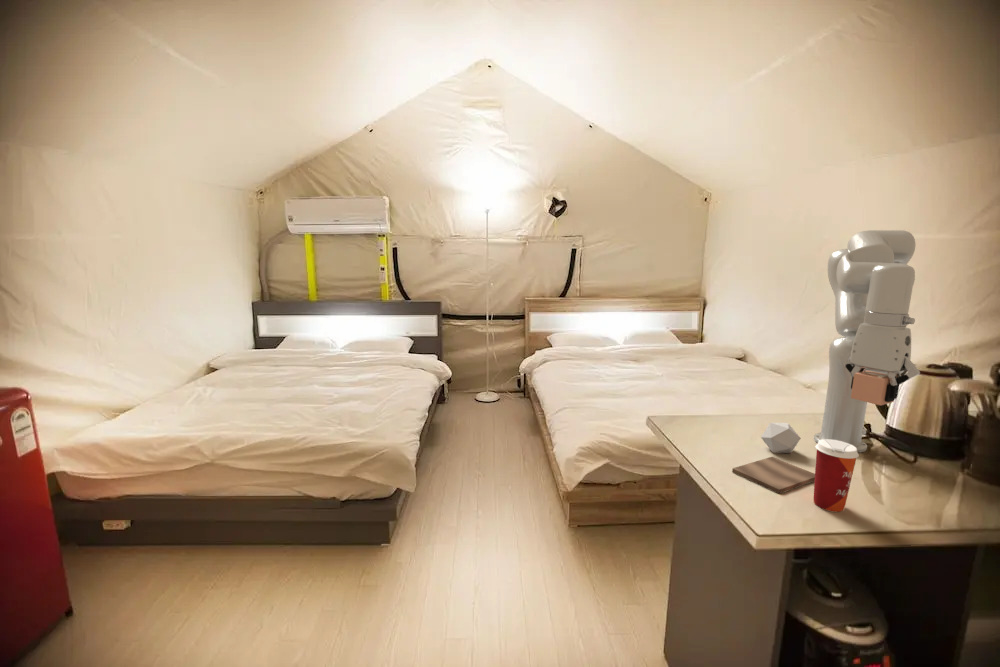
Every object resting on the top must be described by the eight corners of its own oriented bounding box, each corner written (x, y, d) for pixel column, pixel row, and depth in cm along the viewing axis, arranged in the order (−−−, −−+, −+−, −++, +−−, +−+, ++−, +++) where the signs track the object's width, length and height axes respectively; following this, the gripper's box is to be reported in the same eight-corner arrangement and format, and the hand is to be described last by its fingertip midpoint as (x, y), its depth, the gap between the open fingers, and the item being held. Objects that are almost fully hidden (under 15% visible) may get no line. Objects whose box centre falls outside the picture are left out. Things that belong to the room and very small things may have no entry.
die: (786, 447, 138) (766, 418, 139) (812, 443, 130) (791, 412, 132) (770, 462, 134) (749, 432, 136) (795, 459, 127) (774, 427, 128)
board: (771, 460, 127) (771, 456, 127) (818, 479, 117) (819, 475, 117) (732, 472, 120) (732, 468, 120) (778, 493, 109) (779, 489, 109)
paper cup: (851, 518, 100) (861, 455, 97) (807, 507, 104) (816, 446, 101) (848, 502, 106) (857, 442, 104) (807, 492, 110) (815, 435, 108)
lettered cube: (864, 394, 115) (868, 369, 114) (893, 401, 110) (898, 375, 109) (850, 397, 112) (854, 372, 111) (880, 405, 107) (884, 378, 106)
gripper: (941, 324, 102) (926, 405, 105) (851, 314, 117) (840, 385, 120) (924, 327, 98) (909, 410, 102) (834, 315, 113) (823, 389, 117)
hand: (872, 396), depth 111 cm, fingers closed on lettered cube, 6 cm apart
